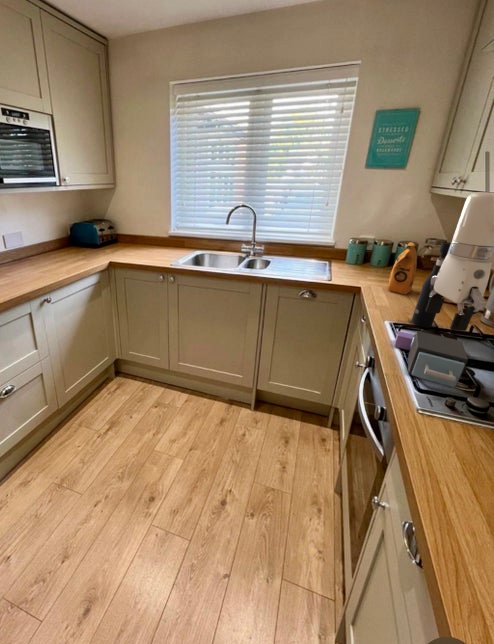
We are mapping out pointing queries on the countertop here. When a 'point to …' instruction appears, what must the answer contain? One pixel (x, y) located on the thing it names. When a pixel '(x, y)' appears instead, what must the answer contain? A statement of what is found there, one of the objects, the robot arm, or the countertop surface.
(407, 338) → the lavender cube
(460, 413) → the countertop surface
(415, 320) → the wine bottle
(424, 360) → the drawer
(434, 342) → the compartment
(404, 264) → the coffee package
